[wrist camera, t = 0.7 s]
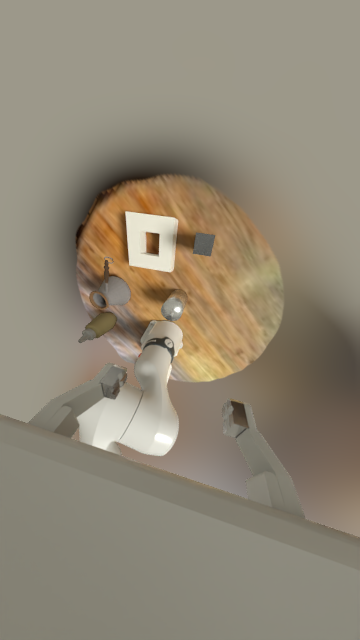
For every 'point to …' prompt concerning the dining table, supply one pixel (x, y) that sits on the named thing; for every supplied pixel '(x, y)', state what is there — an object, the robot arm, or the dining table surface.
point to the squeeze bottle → (98, 326)
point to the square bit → (203, 244)
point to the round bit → (174, 305)
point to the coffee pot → (110, 291)
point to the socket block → (137, 240)
